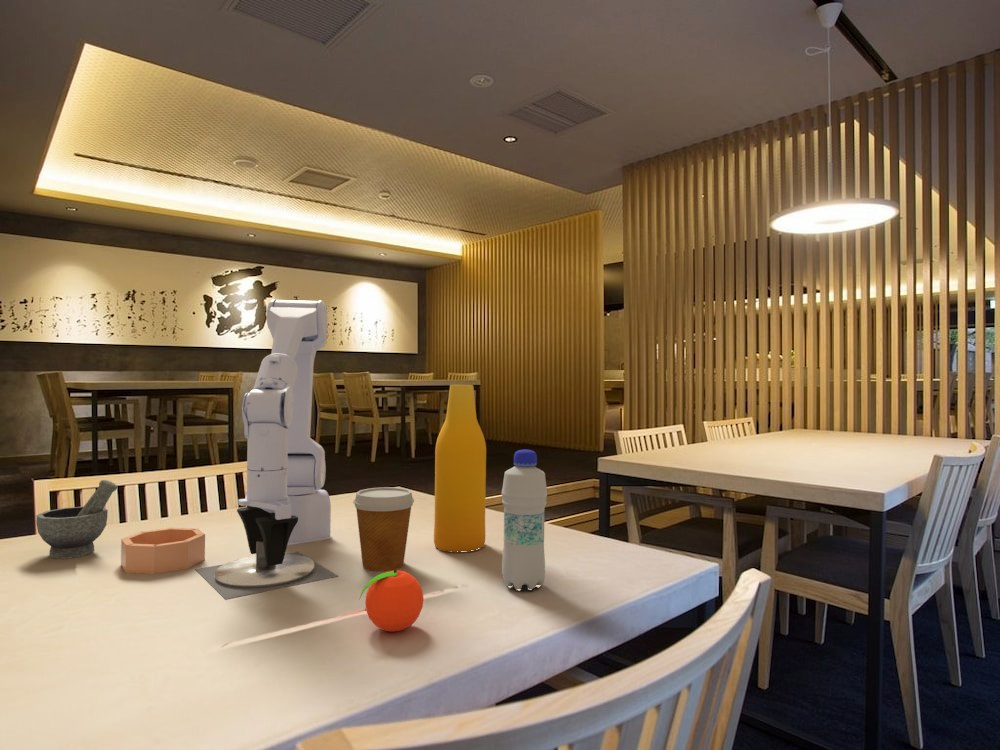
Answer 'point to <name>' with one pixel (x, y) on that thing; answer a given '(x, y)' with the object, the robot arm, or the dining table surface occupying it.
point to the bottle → (524, 522)
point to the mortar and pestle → (76, 524)
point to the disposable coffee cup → (383, 526)
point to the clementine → (393, 600)
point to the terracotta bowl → (162, 550)
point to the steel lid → (263, 570)
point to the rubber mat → (232, 592)
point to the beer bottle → (460, 476)
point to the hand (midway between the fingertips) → (266, 558)
